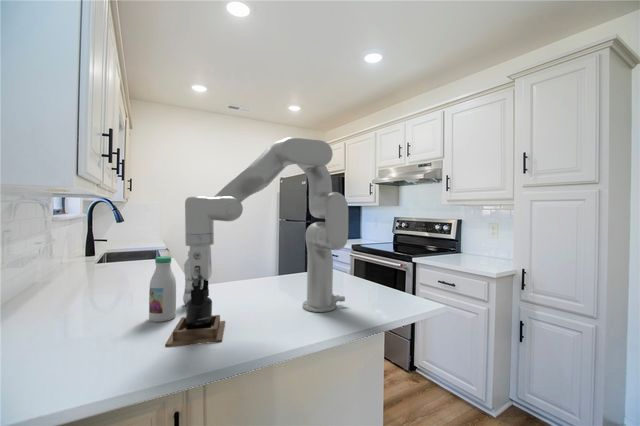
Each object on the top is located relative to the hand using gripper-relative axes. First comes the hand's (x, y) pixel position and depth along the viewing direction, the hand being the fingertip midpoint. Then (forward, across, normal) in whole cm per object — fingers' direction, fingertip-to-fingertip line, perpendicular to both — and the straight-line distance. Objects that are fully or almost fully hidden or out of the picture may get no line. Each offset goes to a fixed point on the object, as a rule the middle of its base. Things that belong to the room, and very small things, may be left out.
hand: (200, 298), depth 85 cm
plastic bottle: (+10, +28, +7) cm, 30 cm away
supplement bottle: (+10, 0, 0) cm, 10 cm away
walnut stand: (+10, 0, +1) cm, 10 cm away
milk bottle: (+10, +15, +14) cm, 22 cm away
